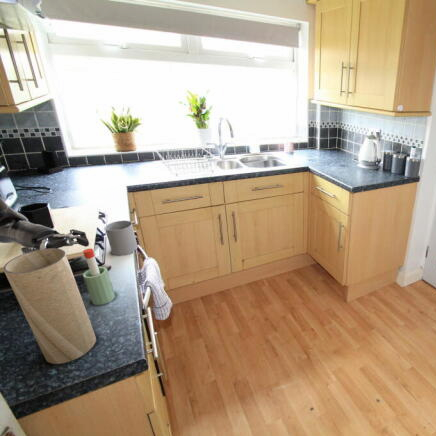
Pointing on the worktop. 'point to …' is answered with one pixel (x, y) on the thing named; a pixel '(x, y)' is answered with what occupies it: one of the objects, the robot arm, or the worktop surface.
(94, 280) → the green pencil holder
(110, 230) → the cup
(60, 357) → the tube
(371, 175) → the worktop surface
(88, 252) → the marker
